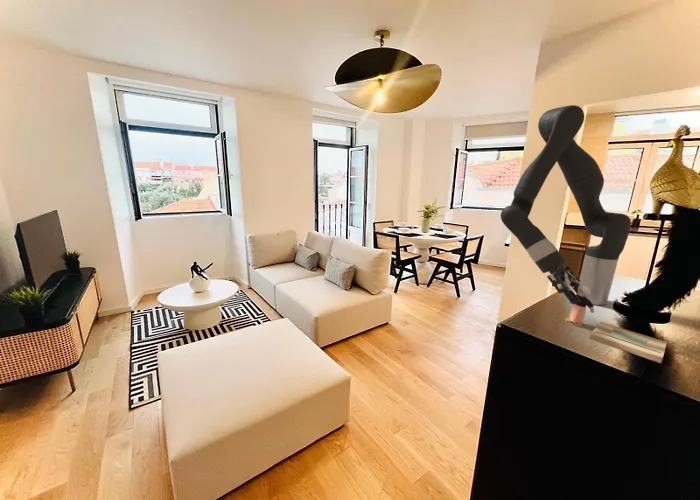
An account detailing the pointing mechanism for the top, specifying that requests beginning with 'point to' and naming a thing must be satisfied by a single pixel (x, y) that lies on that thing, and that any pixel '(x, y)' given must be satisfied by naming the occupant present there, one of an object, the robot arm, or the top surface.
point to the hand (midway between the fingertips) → (580, 299)
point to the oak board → (629, 341)
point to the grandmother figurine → (580, 306)
